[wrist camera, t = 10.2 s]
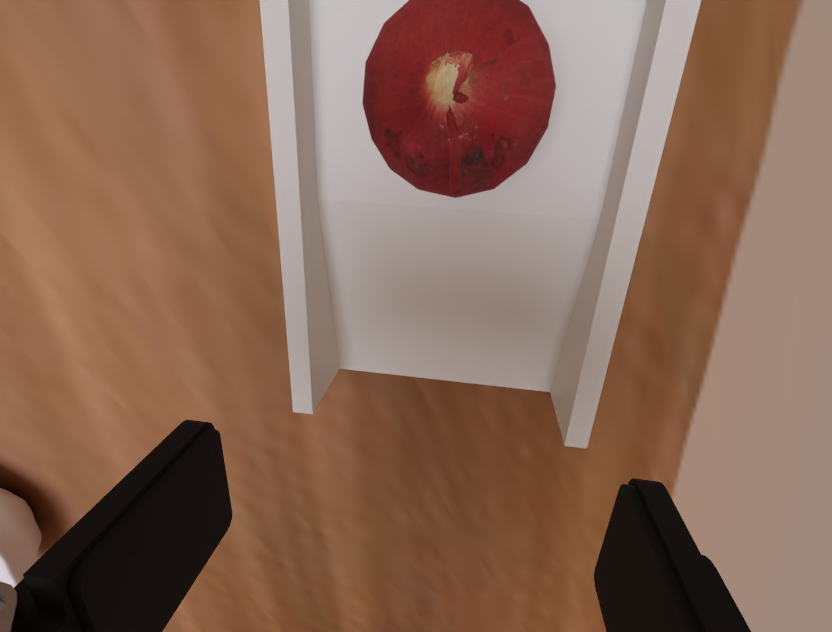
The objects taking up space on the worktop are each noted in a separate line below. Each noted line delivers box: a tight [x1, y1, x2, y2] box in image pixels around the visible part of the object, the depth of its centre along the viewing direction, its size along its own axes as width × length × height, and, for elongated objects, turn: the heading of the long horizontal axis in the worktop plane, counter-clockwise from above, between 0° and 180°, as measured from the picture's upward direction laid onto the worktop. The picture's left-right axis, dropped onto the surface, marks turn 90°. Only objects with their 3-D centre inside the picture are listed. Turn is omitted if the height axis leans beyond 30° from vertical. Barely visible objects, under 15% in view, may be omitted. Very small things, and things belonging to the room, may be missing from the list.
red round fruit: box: [362, 0, 556, 198], centre depth 13 cm, size 6×6×8 cm
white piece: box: [260, 0, 701, 449], centre depth 19 cm, size 18×14×6 cm
